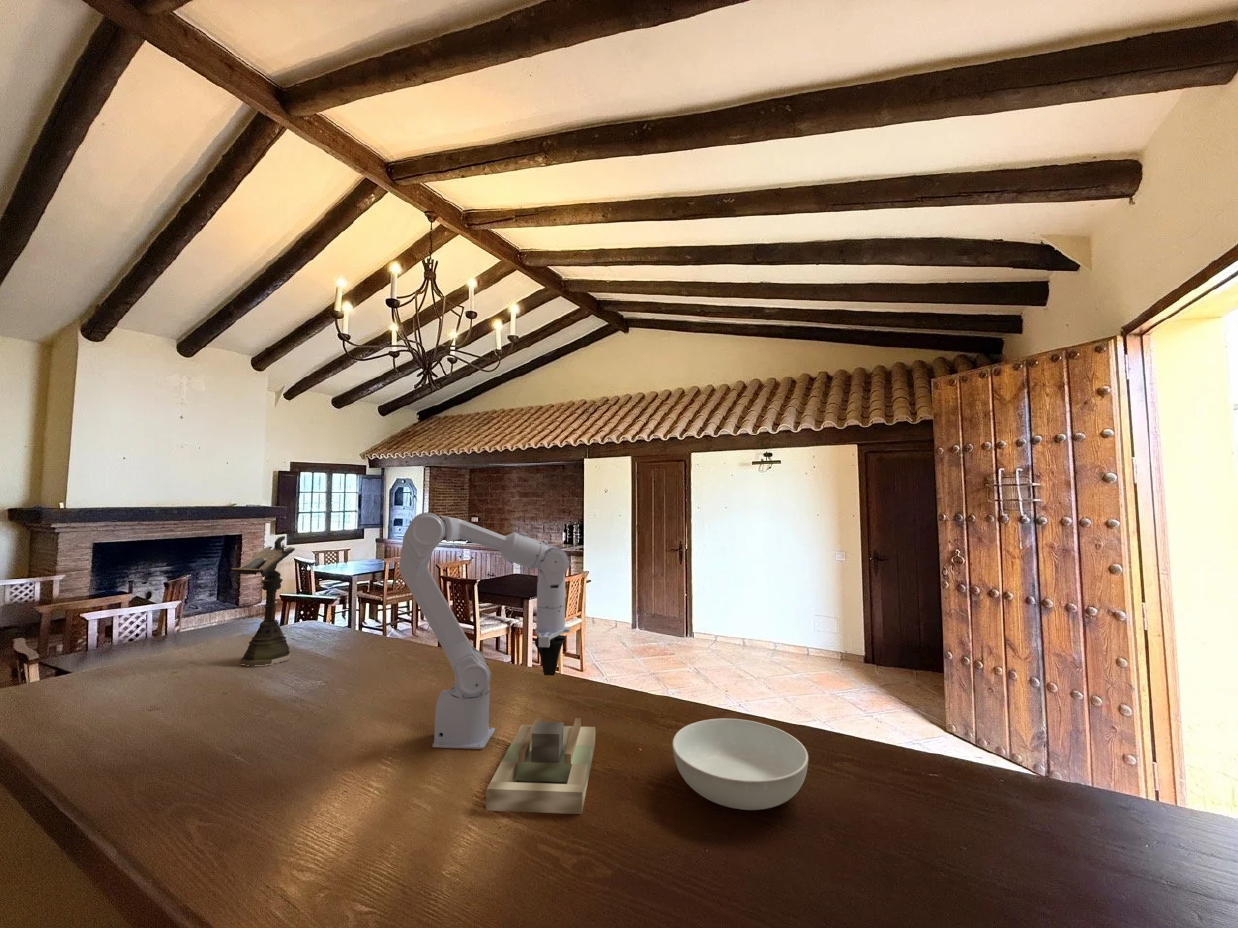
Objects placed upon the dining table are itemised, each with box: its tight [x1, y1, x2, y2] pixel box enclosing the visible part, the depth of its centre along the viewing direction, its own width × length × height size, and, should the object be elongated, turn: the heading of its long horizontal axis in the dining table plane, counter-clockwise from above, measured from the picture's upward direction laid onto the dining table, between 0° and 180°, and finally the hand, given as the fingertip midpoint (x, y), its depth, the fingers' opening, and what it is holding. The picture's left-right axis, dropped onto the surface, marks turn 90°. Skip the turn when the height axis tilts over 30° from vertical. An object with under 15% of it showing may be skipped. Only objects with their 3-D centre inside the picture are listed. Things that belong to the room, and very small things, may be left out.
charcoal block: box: [531, 721, 565, 763], centre depth 85 cm, size 4×4×4 cm
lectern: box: [229, 535, 296, 666], centre depth 142 cm, size 17×13×35 cm
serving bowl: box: [671, 717, 809, 811], centre depth 81 cm, size 21×21×7 cm
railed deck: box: [485, 716, 596, 815], centre depth 85 cm, size 14×22×4 cm, turn 178°
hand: (549, 674), depth 103 cm, fingers closed
